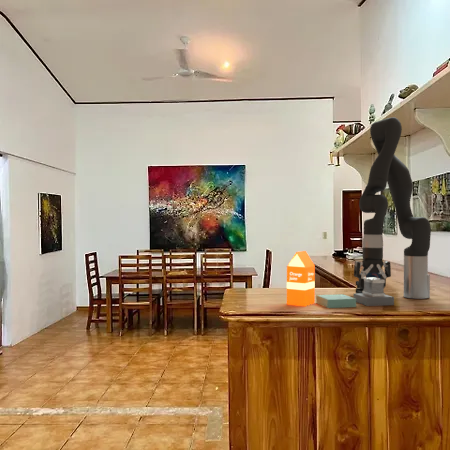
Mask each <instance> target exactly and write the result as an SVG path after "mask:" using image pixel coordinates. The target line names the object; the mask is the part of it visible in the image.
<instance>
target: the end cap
mask: <svg viewBox="0 0 450 450" xmlns="http://www.w3.org/2000/svg"><path fill="white" fill-rule="evenodd" d="M355 286H356V288H355V293H362V291H363V289H361V288H360V287H359V280H356V281H355Z"/></svg>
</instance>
